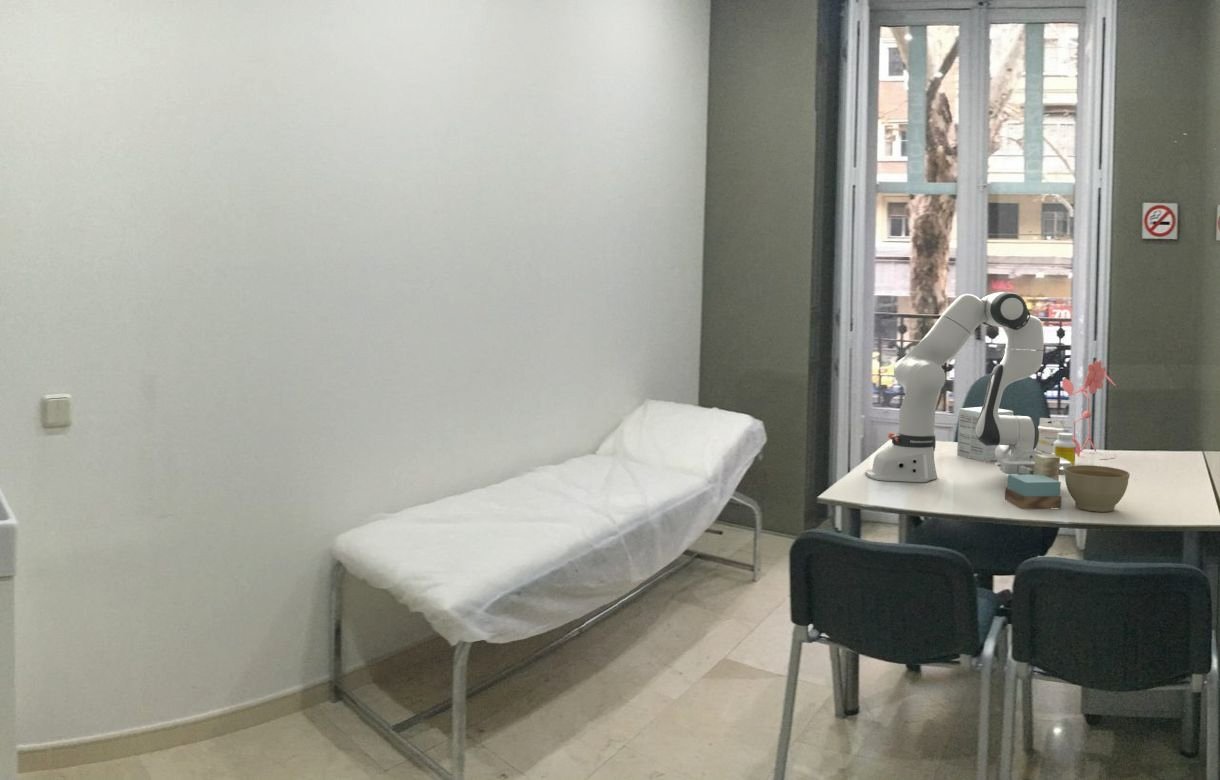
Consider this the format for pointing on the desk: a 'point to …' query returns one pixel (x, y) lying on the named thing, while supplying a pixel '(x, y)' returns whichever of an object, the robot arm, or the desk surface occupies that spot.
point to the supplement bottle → (1065, 447)
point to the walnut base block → (1032, 500)
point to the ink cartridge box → (1048, 434)
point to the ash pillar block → (1047, 465)
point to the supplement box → (974, 435)
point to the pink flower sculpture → (1093, 382)
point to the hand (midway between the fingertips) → (1046, 472)
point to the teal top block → (1034, 485)
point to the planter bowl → (1096, 486)
